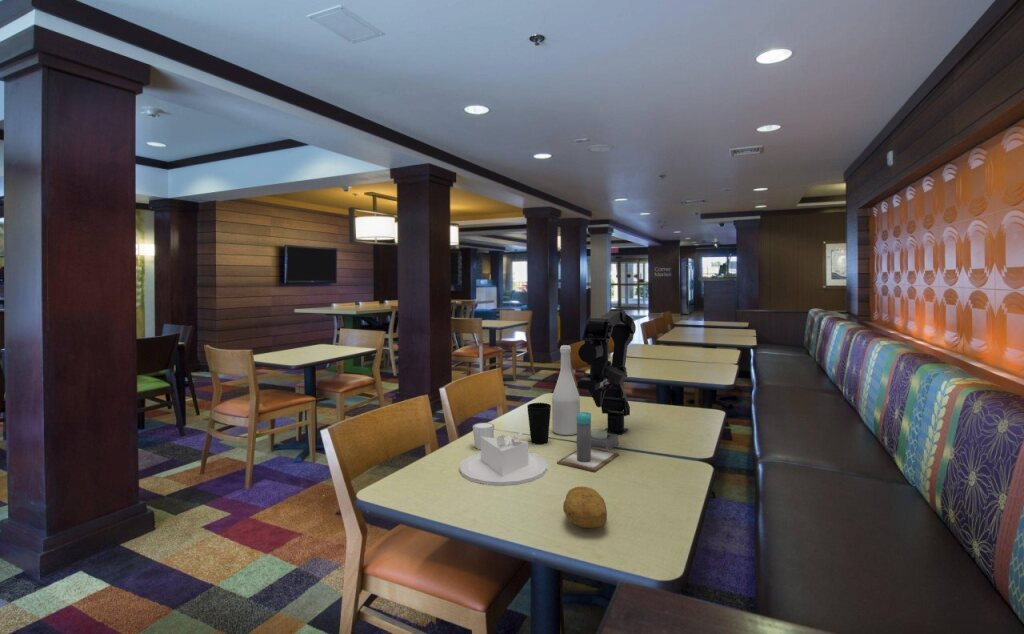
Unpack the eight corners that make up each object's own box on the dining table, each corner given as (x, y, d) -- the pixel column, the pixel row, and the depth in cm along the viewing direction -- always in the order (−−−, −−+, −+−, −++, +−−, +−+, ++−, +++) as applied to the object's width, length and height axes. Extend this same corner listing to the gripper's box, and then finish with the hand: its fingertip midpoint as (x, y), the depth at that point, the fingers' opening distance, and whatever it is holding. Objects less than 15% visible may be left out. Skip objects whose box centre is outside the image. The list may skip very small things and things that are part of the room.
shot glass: (478, 451, 159) (477, 429, 159) (469, 445, 165) (469, 424, 165) (498, 448, 162) (498, 426, 162) (489, 442, 168) (488, 421, 168)
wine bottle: (581, 435, 174) (581, 347, 171) (553, 436, 174) (552, 348, 171) (578, 427, 183) (577, 343, 181) (551, 427, 183) (550, 344, 181)
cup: (551, 438, 172) (551, 402, 171) (551, 445, 164) (550, 408, 163) (528, 437, 172) (528, 402, 171) (526, 445, 165) (526, 408, 164)
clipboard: (583, 448, 161) (583, 444, 161) (619, 455, 154) (619, 451, 154) (557, 463, 148) (557, 459, 148) (594, 472, 141) (594, 467, 141)
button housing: (592, 439, 170) (592, 430, 169) (618, 444, 164) (618, 435, 164) (579, 446, 162) (579, 437, 162) (606, 452, 157) (606, 442, 157)
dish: (565, 466, 147) (564, 428, 146) (505, 495, 128) (504, 451, 127) (502, 448, 163) (501, 413, 162) (441, 471, 145) (440, 431, 144)
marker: (585, 456, 151) (585, 411, 150) (593, 460, 148) (593, 414, 147) (573, 458, 149) (573, 413, 148) (582, 463, 146) (582, 416, 145)
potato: (563, 536, 107) (563, 504, 106) (563, 508, 120) (562, 479, 119) (608, 537, 106) (608, 505, 106) (603, 509, 119) (603, 480, 118)
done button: (595, 438, 167) (595, 428, 166) (609, 441, 164) (609, 430, 164) (588, 442, 163) (588, 431, 162) (602, 445, 160) (602, 434, 160)
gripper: (609, 364, 149) (609, 417, 150) (635, 356, 164) (634, 404, 165) (575, 361, 155) (576, 412, 156) (603, 353, 170) (603, 400, 172)
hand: (598, 407), depth 162 cm, fingers closed
